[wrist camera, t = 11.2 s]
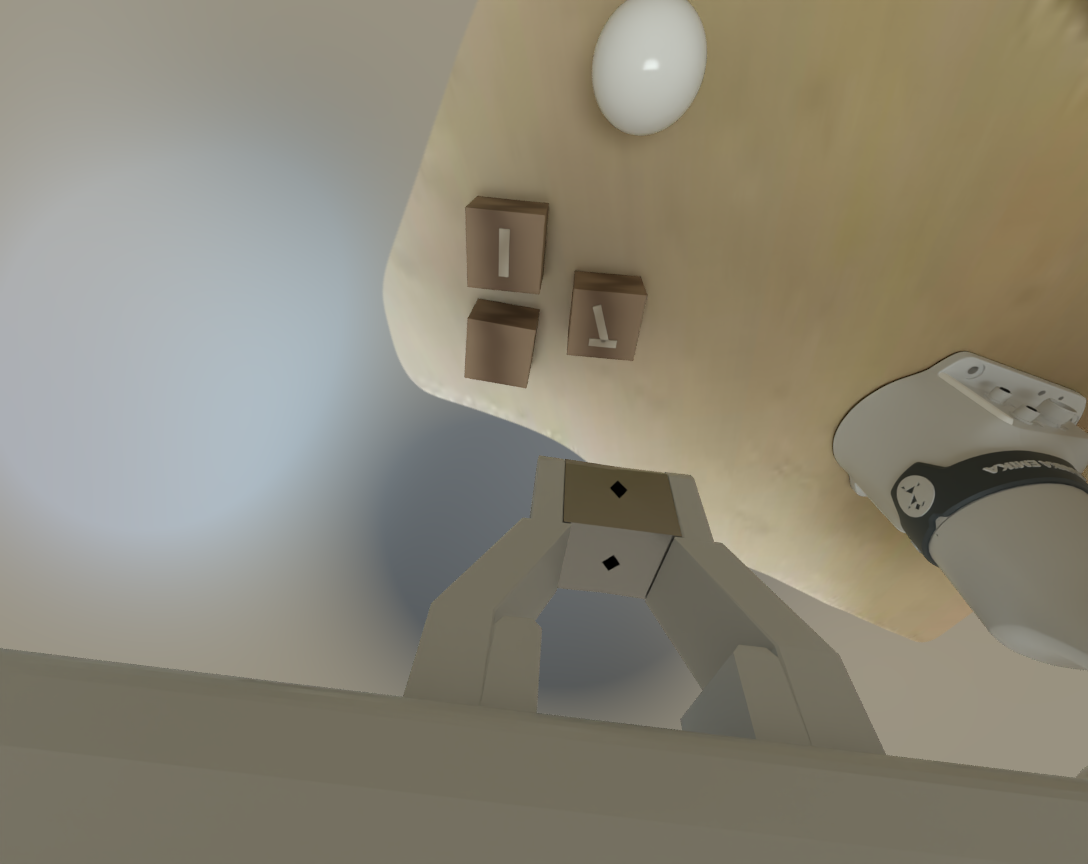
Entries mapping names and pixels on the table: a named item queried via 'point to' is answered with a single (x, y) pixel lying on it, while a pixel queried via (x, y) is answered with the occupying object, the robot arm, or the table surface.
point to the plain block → (500, 342)
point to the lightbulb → (649, 64)
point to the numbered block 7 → (605, 315)
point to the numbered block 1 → (506, 244)
